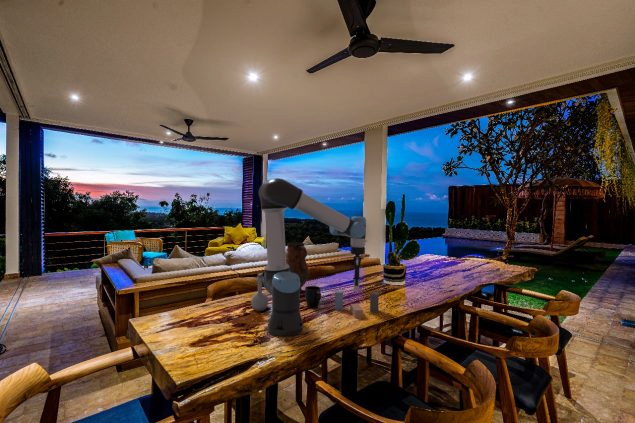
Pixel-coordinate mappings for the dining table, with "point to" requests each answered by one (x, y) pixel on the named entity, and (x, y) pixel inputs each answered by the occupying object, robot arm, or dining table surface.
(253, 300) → the potion bottle
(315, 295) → the mug
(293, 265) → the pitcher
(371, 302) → the charcoal block
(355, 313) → the terracotta block
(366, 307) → the dining table surface
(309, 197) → the robot arm
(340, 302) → the slate block
